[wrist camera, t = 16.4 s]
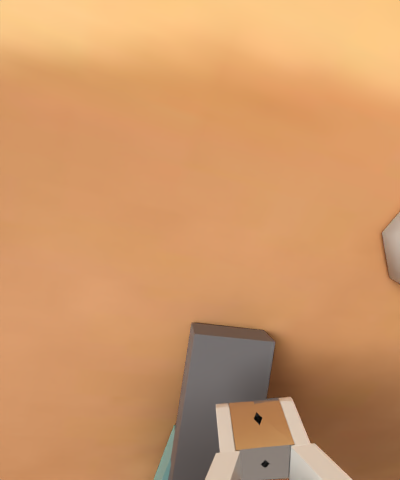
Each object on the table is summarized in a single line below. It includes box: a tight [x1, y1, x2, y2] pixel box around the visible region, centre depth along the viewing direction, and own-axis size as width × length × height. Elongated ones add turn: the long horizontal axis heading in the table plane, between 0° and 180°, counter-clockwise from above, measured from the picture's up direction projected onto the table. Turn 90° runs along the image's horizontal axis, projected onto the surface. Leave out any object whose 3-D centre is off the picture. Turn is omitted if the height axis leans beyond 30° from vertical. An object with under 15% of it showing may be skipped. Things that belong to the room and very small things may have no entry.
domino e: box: [171, 323, 275, 480], centre depth 14 cm, size 2×4×8 cm
